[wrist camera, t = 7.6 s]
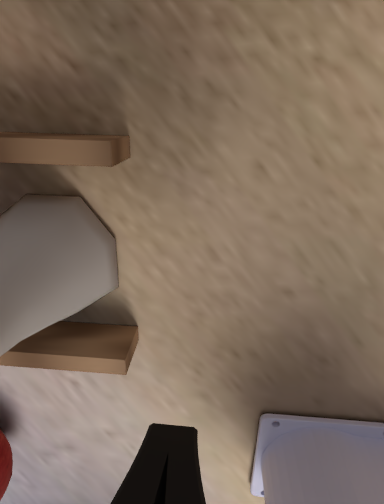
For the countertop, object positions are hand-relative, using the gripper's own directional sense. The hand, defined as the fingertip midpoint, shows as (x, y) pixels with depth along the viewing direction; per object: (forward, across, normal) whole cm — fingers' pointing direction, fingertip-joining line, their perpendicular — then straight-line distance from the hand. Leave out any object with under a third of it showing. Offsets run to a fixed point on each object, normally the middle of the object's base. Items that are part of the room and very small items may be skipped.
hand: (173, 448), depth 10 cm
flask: (+10, +8, -2) cm, 13 cm away
